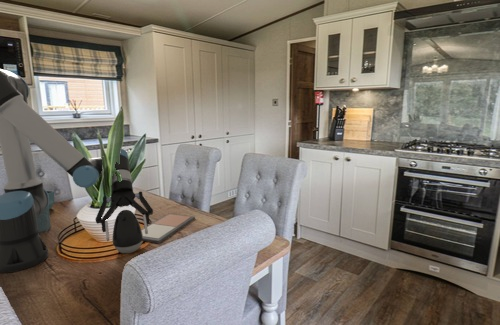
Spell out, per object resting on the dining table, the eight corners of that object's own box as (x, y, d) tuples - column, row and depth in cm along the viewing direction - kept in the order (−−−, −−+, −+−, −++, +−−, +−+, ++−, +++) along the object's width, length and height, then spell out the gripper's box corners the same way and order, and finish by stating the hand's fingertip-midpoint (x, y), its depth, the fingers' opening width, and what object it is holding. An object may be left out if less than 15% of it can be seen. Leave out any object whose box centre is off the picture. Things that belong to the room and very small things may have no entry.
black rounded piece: (110, 258, 105) (105, 216, 102) (117, 245, 115) (112, 206, 112) (141, 255, 107) (137, 213, 104) (145, 242, 117) (141, 204, 114)
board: (159, 243, 116) (158, 240, 116) (129, 238, 121) (129, 235, 120) (194, 218, 140) (194, 216, 139) (169, 215, 145) (168, 213, 144)
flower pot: (28, 212, 155) (25, 195, 154) (44, 206, 164) (41, 190, 162) (41, 213, 153) (38, 196, 151) (57, 207, 161) (54, 191, 159)
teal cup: (38, 235, 126) (33, 207, 124) (18, 234, 128) (13, 206, 126) (58, 225, 136) (54, 199, 134) (39, 224, 138) (34, 199, 136)
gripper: (153, 185, 126) (162, 233, 115) (87, 193, 116) (90, 247, 105) (154, 175, 120) (163, 225, 109) (84, 183, 111) (87, 239, 100)
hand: (127, 236), depth 107 cm, fingers open, 12 cm apart
